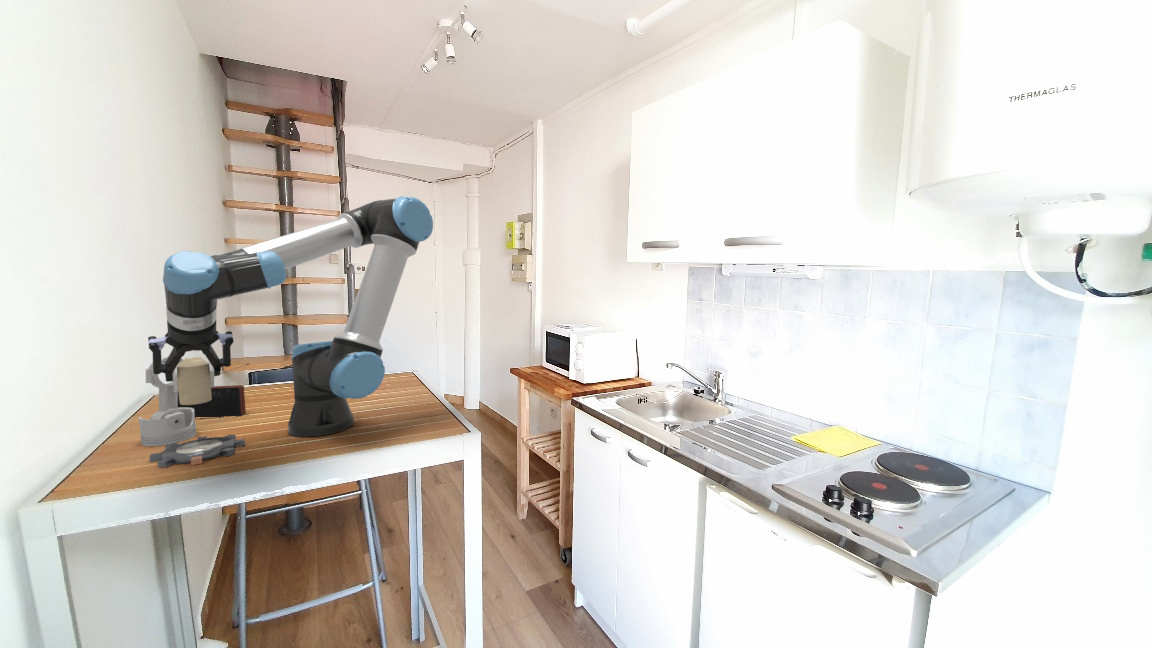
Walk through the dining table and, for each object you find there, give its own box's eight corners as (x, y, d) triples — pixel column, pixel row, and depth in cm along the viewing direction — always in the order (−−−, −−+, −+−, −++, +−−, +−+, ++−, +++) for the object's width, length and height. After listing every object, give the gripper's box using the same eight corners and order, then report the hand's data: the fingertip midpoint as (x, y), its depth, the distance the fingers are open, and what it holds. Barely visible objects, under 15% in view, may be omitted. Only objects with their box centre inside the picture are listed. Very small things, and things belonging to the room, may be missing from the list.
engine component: (129, 444, 106) (163, 447, 104) (121, 359, 104) (155, 361, 102) (178, 429, 116) (210, 432, 114) (172, 352, 114) (204, 353, 112)
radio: (172, 420, 123) (167, 367, 122) (179, 417, 126) (174, 365, 125) (248, 416, 128) (245, 365, 126) (253, 413, 131) (250, 363, 129)
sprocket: (262, 441, 108) (261, 436, 108) (195, 470, 92) (194, 463, 92) (203, 437, 110) (203, 432, 110) (128, 464, 94) (128, 458, 94)
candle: (193, 406, 97) (190, 360, 96) (172, 404, 98) (168, 359, 97) (218, 399, 102) (214, 356, 101) (198, 398, 103) (194, 355, 102)
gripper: (127, 337, 81) (138, 406, 94) (252, 329, 93) (245, 391, 107) (125, 306, 84) (136, 377, 98) (246, 303, 97) (241, 366, 110)
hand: (193, 384), depth 102 cm, fingers closed on candle, 5 cm apart
